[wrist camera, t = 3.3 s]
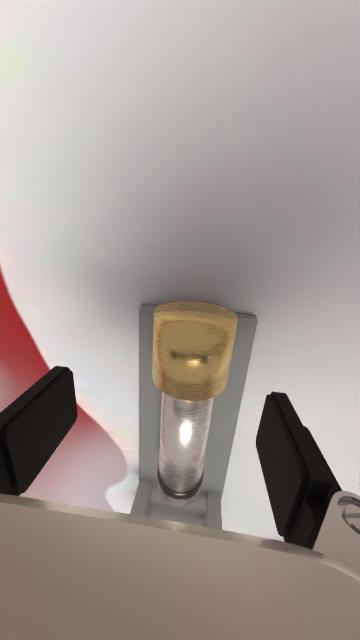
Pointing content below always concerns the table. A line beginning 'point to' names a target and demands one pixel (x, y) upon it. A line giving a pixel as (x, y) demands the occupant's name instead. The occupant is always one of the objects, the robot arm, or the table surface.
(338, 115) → the table surface
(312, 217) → the table surface
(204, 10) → the table surface
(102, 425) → the table surface
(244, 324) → the grey bracket stand
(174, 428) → the gold capped glass bottle
